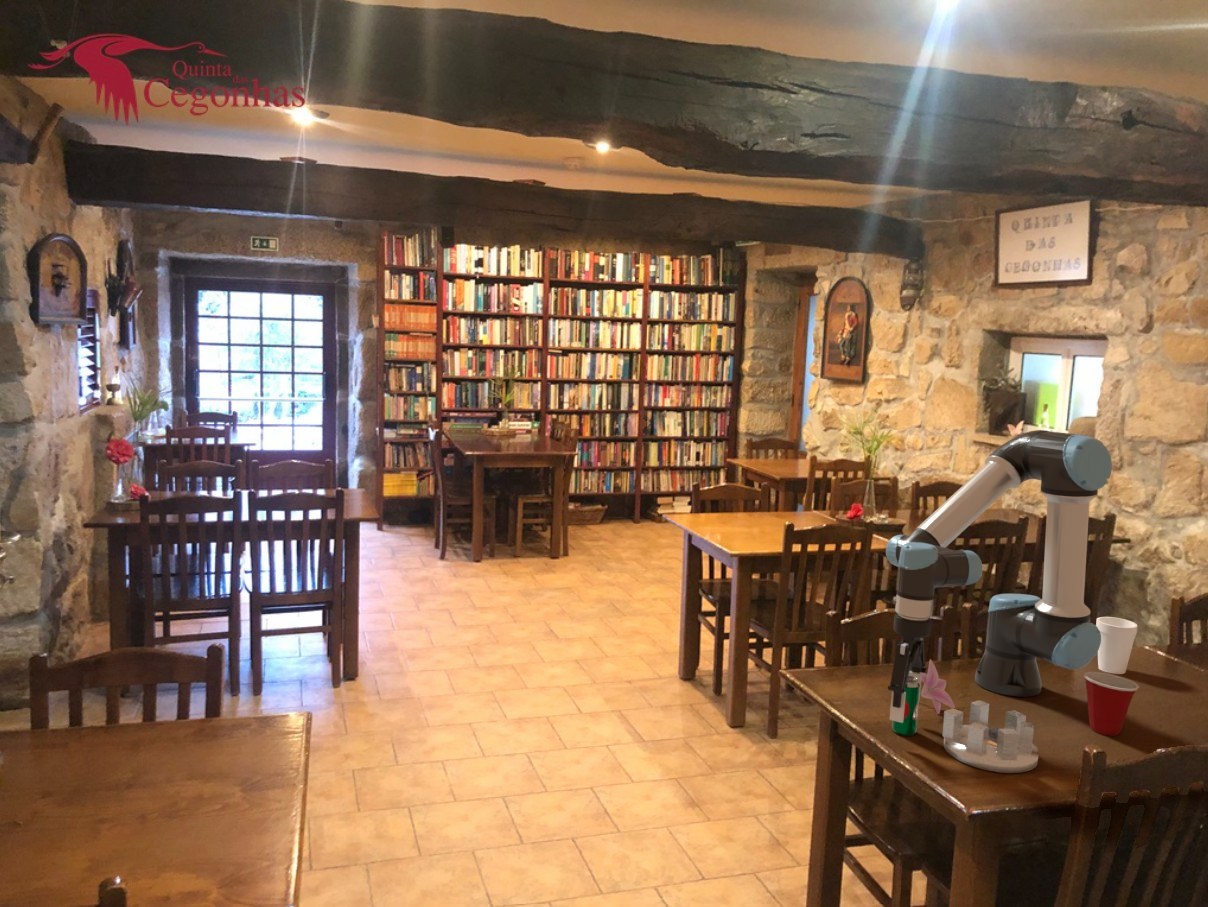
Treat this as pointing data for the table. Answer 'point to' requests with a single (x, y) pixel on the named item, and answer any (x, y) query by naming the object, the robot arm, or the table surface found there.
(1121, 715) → the plastic cup
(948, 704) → the lily
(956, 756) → the round white pillared stand
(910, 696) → the soda can
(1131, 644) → the foam cup
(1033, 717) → the table surface
